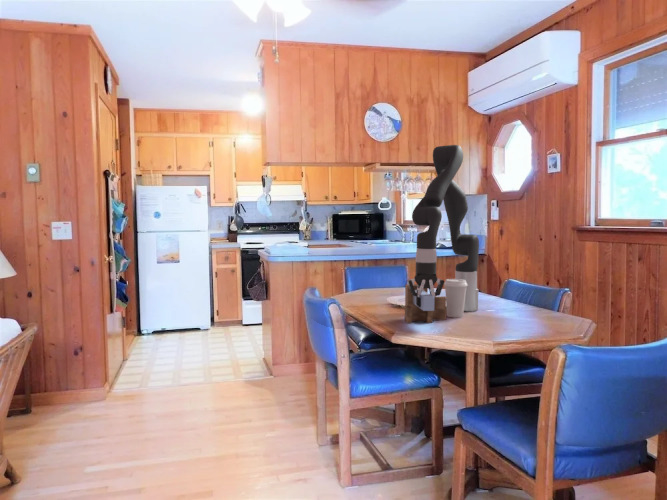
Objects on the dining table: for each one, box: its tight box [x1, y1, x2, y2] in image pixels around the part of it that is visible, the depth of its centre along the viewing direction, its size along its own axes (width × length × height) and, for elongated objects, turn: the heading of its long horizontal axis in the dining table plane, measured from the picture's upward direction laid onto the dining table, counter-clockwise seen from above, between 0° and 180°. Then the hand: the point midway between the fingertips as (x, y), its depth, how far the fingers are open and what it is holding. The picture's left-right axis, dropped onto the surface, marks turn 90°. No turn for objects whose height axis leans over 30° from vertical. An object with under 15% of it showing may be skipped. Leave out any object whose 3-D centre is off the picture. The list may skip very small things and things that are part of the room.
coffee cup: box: [443, 278, 468, 319], centre depth 206 cm, size 10×10×15 cm
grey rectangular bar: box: [413, 290, 436, 311], centre depth 187 cm, size 16×4×5 cm, turn 5°
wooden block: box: [404, 283, 447, 324], centre depth 197 cm, size 17×8×14 cm, turn 95°
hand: (425, 306), depth 184 cm, fingers closed on grey rectangular bar, 4 cm apart
